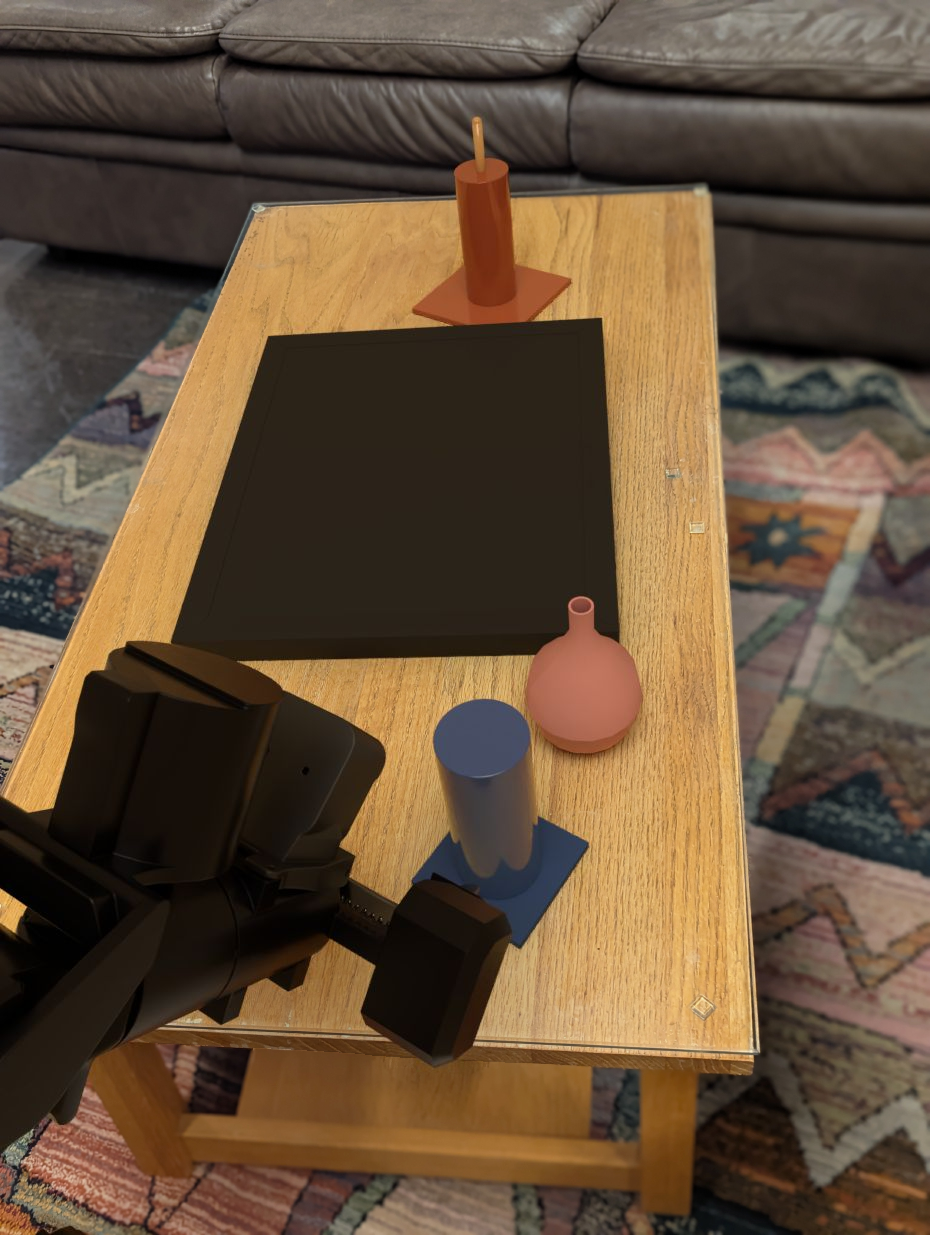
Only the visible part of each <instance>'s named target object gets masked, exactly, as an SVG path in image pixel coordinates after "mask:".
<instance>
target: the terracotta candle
mask: <svg viewBox="0 0 930 1235" xmlns="http://www.w3.org/2000/svg"><path fill="white" fill-rule="evenodd" d="M471 127H472V136H473V137H472V139H473V148H474V158H473V159H470V160H466V161H465V162H462V163H460V164H459V165H458V166H457V167H456V168H455V169H454V172H453V178H454V179H453V180H454V189H455V197H456V208H457V215H458V216H457V217H458V224H459V236H460V243H461V252H462V253H461V255H462V262H463V263H462V265H464V273H465V283H466V292H467V297H468V299H469V300H470V301H471V302H472V303H474V304H476V305H480V306H497V305H501V304H504V303H507V302H509V301H510V300H512V299H513V298H514V297H515V295H516V293H517V285H516V270H515V264H516V258H515V256H516V255H515V245H514V244H515V242H514V241H515V240H514V228H513V227H514V226H513V216H512V198H511V186H510V185H511V183H510V172H509V170H510V169H509V165H508V164H507V162H505V161H503V160H501V159H498V158H492V157H486V156H485V143H484V131H483V130H484V129H483V121H482V118H481V117H479V116H474V117H473V118H472V120H471Z"/></svg>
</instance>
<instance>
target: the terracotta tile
mask: <svg viewBox="0 0 930 1235" xmlns="http://www.w3.org/2000/svg"><path fill="white" fill-rule="evenodd" d="M515 270H516V285H517V293H516V295H515V297H514V298H513V299H512V300H510V301H509V302H507V303H504V304H501V305H497V306H480V305H476V304H474V303H472V302H471V301H470V300H469V299H468V297H467V292H466V283H465V273H464V264H462V266H461V267H459V268H458V269H457V270H455V271H454V272H453V273H452V274H451V275H449V276H448V277H447V278H446V279H444V280H443V282H442V283H440V284H439V285H438V286H436V287H435V288H434V289H433V290H432V291H430V292H429V293H428V294H427V295H425V297H423V298H422V299H421V300H420V301H419V302H417V303H416V304H415V305H414V306H413V307H412V308H411V311H412V314H415V315H418V316H421V317H425V318H428V319H432V320H434V321H439V322H442V323H444V324H449V325H451V326H457V325H475V324H494V323H512V322H530V321H534V319H536V317H537V316H538V315H540V313H542V311H544V310H545V309H546V308H547V307H548V306H549V305H550V304H551V303H552V302H554V300H555V299H557V297H559V296H560V295H561V294H562V293H563V292H564V291H565V290H566V289H567V288H569V286H571V285H572V278H571V277H568V276H564V275H559V274H557V273H552V272H549V271H544V270H541V269H536V268H533V267H528V266H525V265H521V264H518V263H517V264H516V263H515Z"/></svg>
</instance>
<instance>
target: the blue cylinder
mask: <svg viewBox="0 0 930 1235" xmlns="http://www.w3.org/2000/svg"><path fill="white" fill-rule="evenodd" d="M432 745H433V746H432V748H433V753H434V757H435V762H436V767H437V772H438V778H439V782H440V788H441V792H442V797H443V802H444V806H445V812H446V817H447V822H448V827H449V830H450V832H451V837H452V842H453V847H454V852H455V857H456V862H457V867H458V872H459V875H460V877H461V879H462V881H463V883H464V884H465V885H466V884H475V885H476V886H478V887H479V888H480V889H479V893H478V895H479V896H482V897H484V898H488V899H495V900H500V899H508V898H512V897H515V896H517V895H519V894H521V893H523V892H524V891H526V890H527V889H528V888H529V887H530V886H531V885H532V884H533V883H534V882H535V880H536V878H537V877H538V874H539V872H540V868H541V849H540V837H539V826H538V816H539V814H538V805H537V804H538V803H537V794H536V793H537V792H536V781H535V771H534V770H535V769H534V760H533V747H532V735H531V730H530V726H529V723H528V721H527V719H526V718H525V716H524V715H523V714H522V713H521V712H520V711H519V710H518V709H517V708H516V707H514V706H513V705H511V704H509V703H507V702H504V701H502V700H497V699H494V698H493V699H492V698H476V699H471V700H467V701H464V702H461V703H460V704H457V705H456V706H454V707H452V708H451V709H449V710H448V711H447V712H446V713H444V715H443V716H442V717H441V719H439V720H438V723H437V724H436V726H435V729H434V732H433V735H432Z"/></svg>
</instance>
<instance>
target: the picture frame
mask: <svg viewBox="0 0 930 1235" xmlns="http://www.w3.org/2000/svg"><path fill="white" fill-rule="evenodd" d="M603 325H604V324H603V317H588V318H571V319H569V318H568V319H550V320H549V319H548V320H532V321H530V322H512V323H494V324H475V325H457V326H455V325H441V326H425V327H424V326H423V327H406V328H404V327H403V328H386V329H369V330H368V329H367V330H365V329H364V330H350V331H329V332H314V333H313V332H311V333H294V334H293V333H291V334H277V335H274V334H273V335H268V336H267V338H266V340H265V344H264V346H263V350H262V354H261V357H260V360H259V362H258V366H257V369H256V373H255V375H254V378H253V382H252V385H251V388H250V391H249V395H248V397H247V401H246V404H245V407H244V409H243V414H242V416H241V419H240V423H239V426H238V428H237V432H236V435H235V438H234V441H233V444H232V447H231V450H230V454H229V457H228V460H227V462H226V463H227V464H226V467H225V469H224V473H223V475H222V479H221V482H220V484H219V488H218V491H217V495H216V497H215V501H214V504H213V507H212V510H211V513H210V517H209V520H208V523H207V525H206V528H205V532H204V535H203V539H202V541H201V544H200V548H199V551H198V554H197V557H196V560H195V563H194V567H193V570H192V573H191V576H190V579H189V581H188V585H187V589H186V591H185V595H184V598H183V601H182V604H181V608H180V610H179V614H178V617H177V620H176V623H175V626H174V629H173V631H172V632H173V633H172V635H171V639H170V644H176V645H181V646H186V647H191V648H195V649H199V650H203V651H206V652H210V653H214V654H217V655H220V656H223V657H226V658H229V659H232V660H234V661H237V662H250V661H251V662H255V661H259V662H260V661H300V660H302V661H303V660H307V661H308V660H348V659H349V660H351V659H353V660H354V659H357V660H358V659H396V658H397V659H398V658H399V659H401V658H404V659H405V658H446V657H447V658H450V657H493V656H494V657H495V656H496V657H497V656H498V657H499V656H501V657H502V656H536V654H537V653H538V652H539V651H540V650H541V649H542V647H543V646H544V645H546V644H548V643H550V642H551V641H553V640H555V639H556V638H558V637H562V636H564V635H565V634H566V633H567V632H568V630H569V610H568V605H569V602H570V601H571V600H572V599H574V598H576V597H587V598H589V599H591V600H592V602H593V604H594V629H595V630H596V631H597V632H598V633H599V634H600V635H601V636H605V637H608V638H611V639H613V640H614V641H616V642H618V643H619V644H620V632H621V631H620V616H619V615H620V614H619V612H620V611H619V597H618V578H617V560H616V558H617V557H616V543H615V526H614V525H615V524H614V523H615V522H614V509H613V508H614V506H613V487H612V486H613V485H612V468H611V452H610V434H609V433H610V432H609V417H608V416H609V415H608V414H609V413H608V396H607V379H606V360H605V343H604V326H603Z"/></svg>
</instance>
